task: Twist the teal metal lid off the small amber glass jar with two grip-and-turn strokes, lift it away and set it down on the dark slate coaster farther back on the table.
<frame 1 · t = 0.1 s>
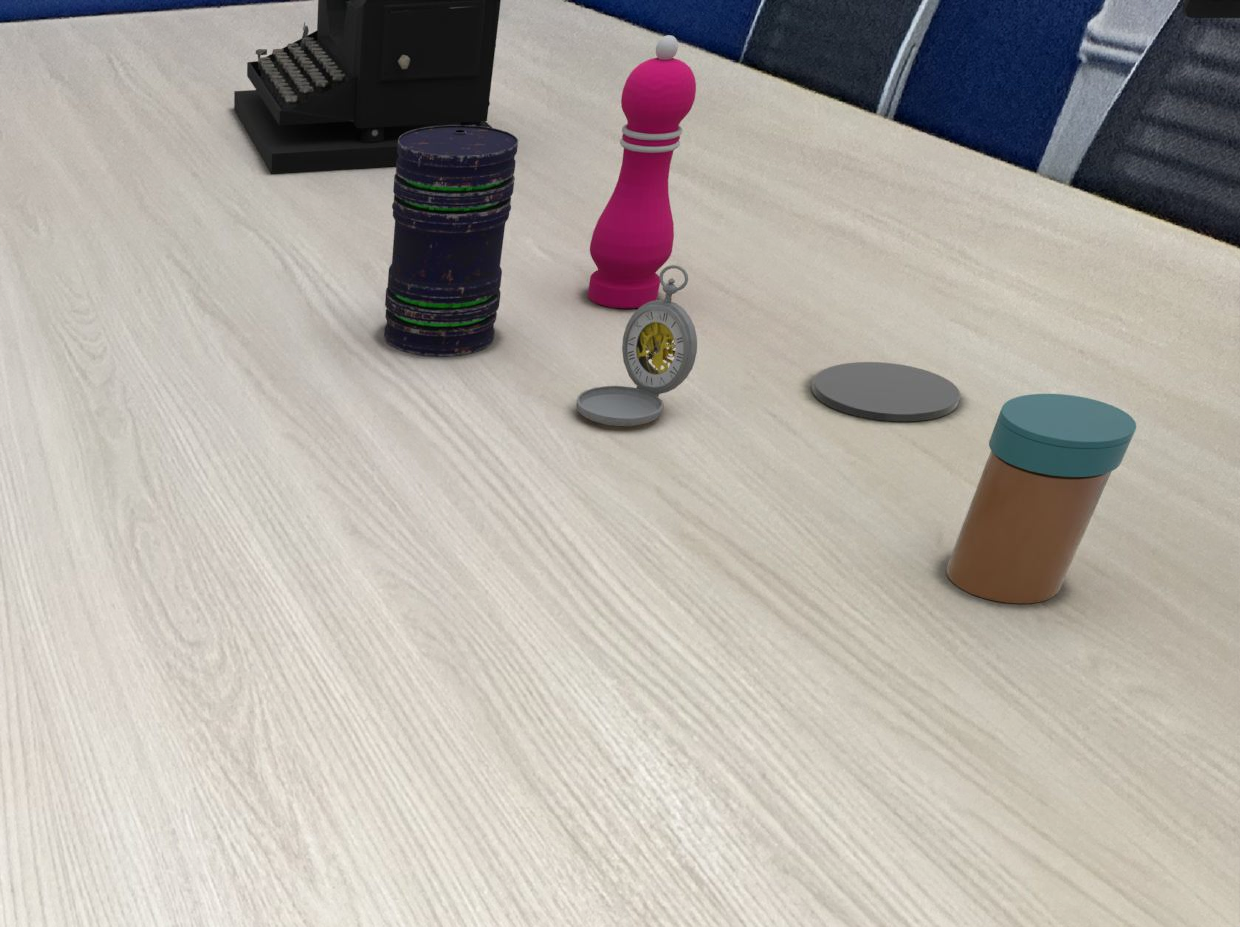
storage jar: (438, 338, 127), on the table
pepper mill: (621, 300, 133), on the table
jam jar: (1002, 578, 93), on the table
typewriter: (360, 135, 176), on the table
coaster: (883, 394, 115), on the table
jam lid: (1065, 423, 86), point 10 cm above the table, screwed on, not yet turned
pocket watch: (628, 414, 114), on the table
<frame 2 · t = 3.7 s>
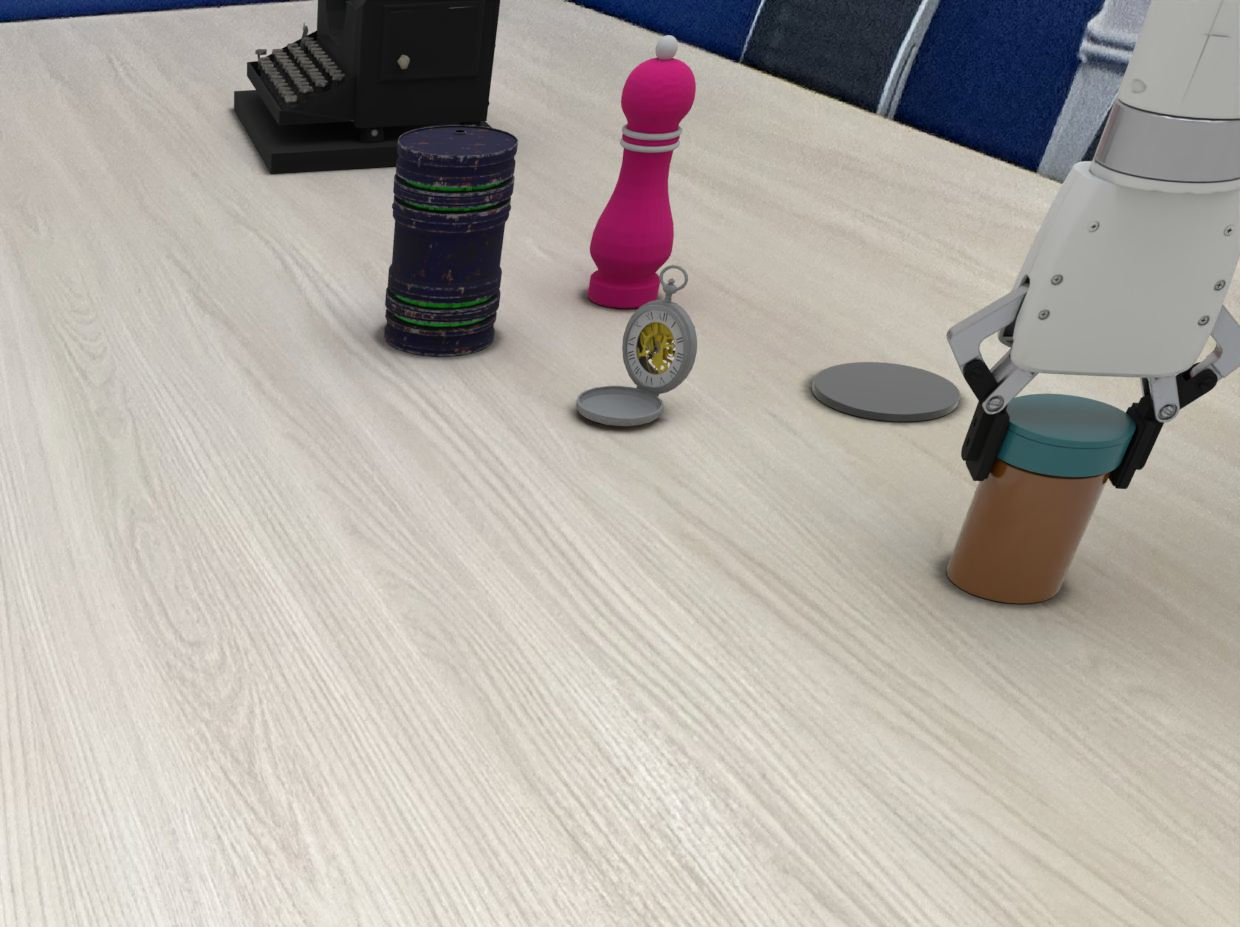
hand: (1044, 474, 88), 7 cm above the table, tool pointing down, fingers closed on jam lid, 7 cm apart
jam lid: (1065, 423, 86), point 10 cm above the table, screwed on, not yet turned, touching gripper
everything else where it was.
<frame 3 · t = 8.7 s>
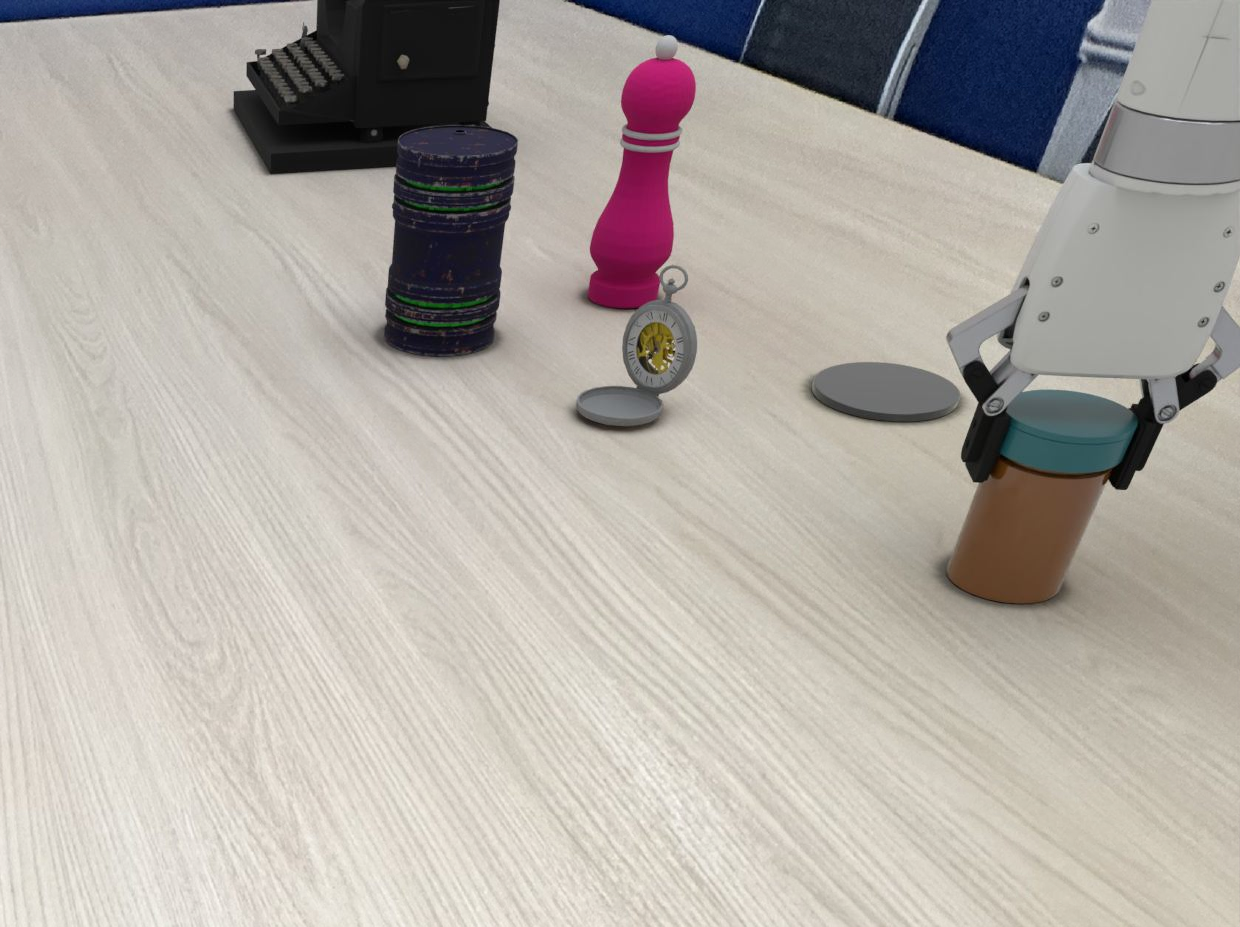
hand: (1044, 475, 89), 7 cm above the table, tool pointing down, fingers closed on jam lid, 7 cm apart
jam lid: (1067, 419, 86), point 10 cm above the table, turned 89° so far, risen 0.2 cm, still on its thread, touching gripper
everything else where it was.
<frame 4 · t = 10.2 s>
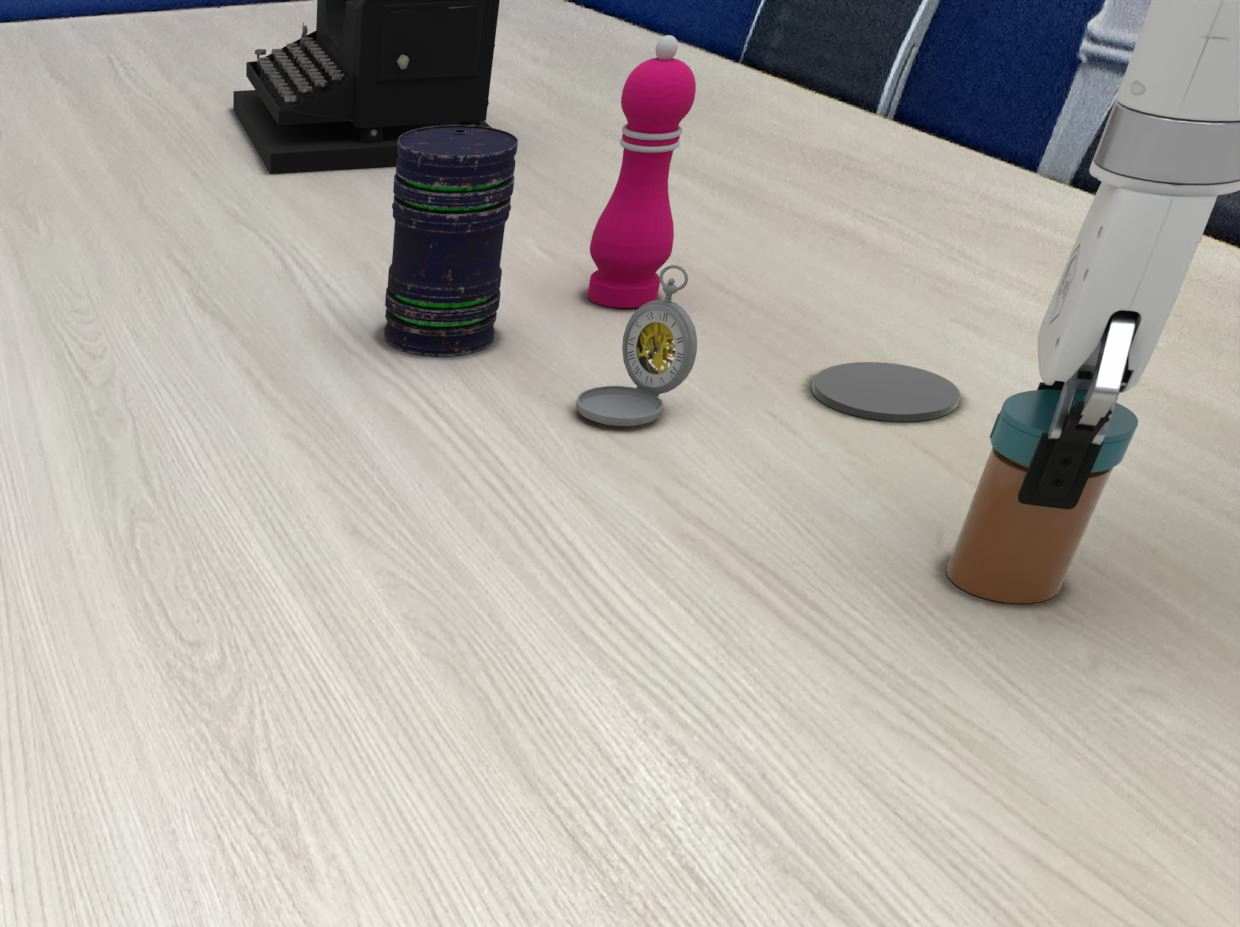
hand: (1044, 475, 89), 7 cm above the table, tool pointing down, fingers closed on jam lid, 7 cm apart
jam lid: (1067, 419, 86), point 10 cm above the table, off its thread, touching gripper
everything else where it was.
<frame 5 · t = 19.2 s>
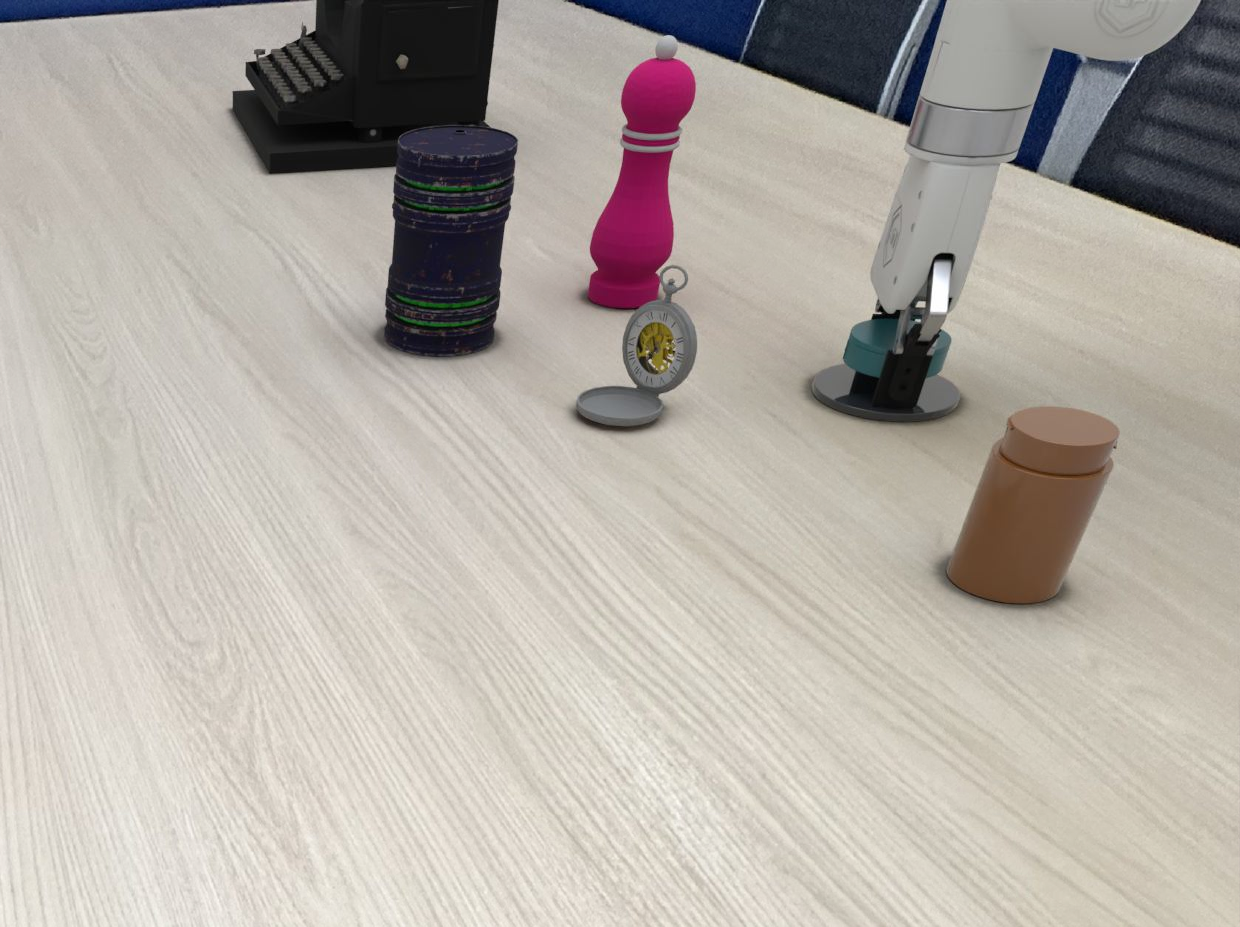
hand: (886, 385, 115), 1 cm above the table, tool pointing down, fingers closed on jam lid, 7 cm apart
jam lid: (899, 340, 112), point 4 cm above the table, off its thread, touching gripper
everything else where it was.
when the fingers open (1 cm above the table, at t = 26.2 s): jam lid drops 2 cm, resting on coaster.
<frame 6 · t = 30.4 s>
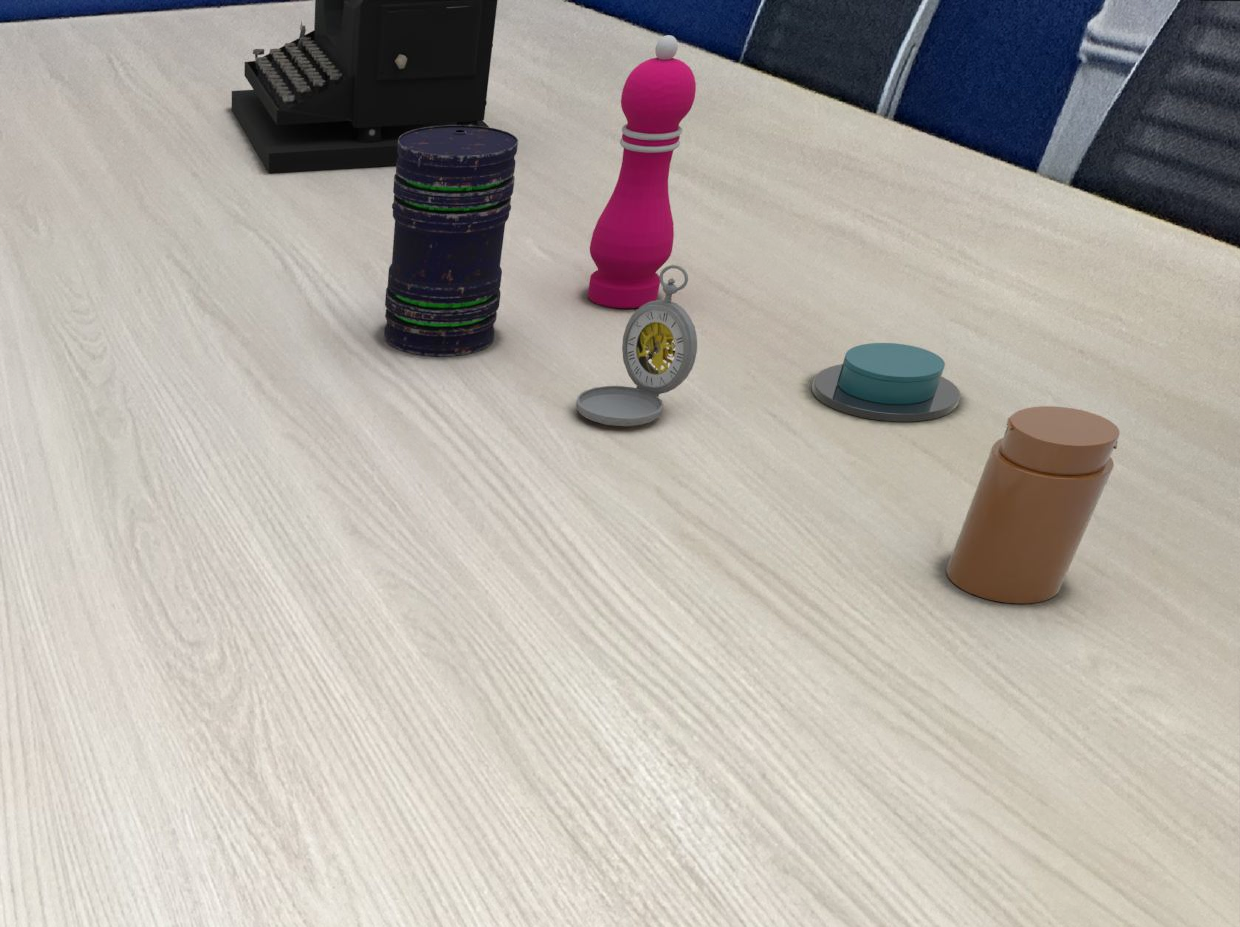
jam lid: (893, 364, 113), point 2 cm above the table, off its thread, touching coaster
everything else where it was.
at the end: jam lid inside the target area on the coaster (0.0 cm from its centre), point 2.3 cm above the coaster's base; the gripper is holding nothing; jam lid point 2.3 cm above the table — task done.
